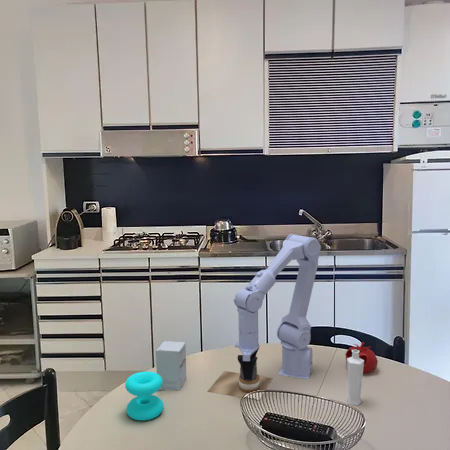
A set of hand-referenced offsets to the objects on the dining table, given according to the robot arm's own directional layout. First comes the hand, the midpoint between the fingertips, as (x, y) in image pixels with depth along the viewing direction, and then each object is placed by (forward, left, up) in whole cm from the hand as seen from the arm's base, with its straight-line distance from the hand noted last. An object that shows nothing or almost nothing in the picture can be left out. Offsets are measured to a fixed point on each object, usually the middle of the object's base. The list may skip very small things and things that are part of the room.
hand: (249, 373), depth 138 cm
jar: (0, 0, -4) cm, 4 cm away
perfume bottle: (-30, -3, -5) cm, 31 cm away
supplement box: (+23, +5, -5) cm, 24 cm away
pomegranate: (-30, -24, -5) cm, 39 cm away
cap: (0, 0, -1) cm, 1 cm away
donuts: (+23, +21, -5) cm, 32 cm away
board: (+3, -1, -5) cm, 6 cm away
